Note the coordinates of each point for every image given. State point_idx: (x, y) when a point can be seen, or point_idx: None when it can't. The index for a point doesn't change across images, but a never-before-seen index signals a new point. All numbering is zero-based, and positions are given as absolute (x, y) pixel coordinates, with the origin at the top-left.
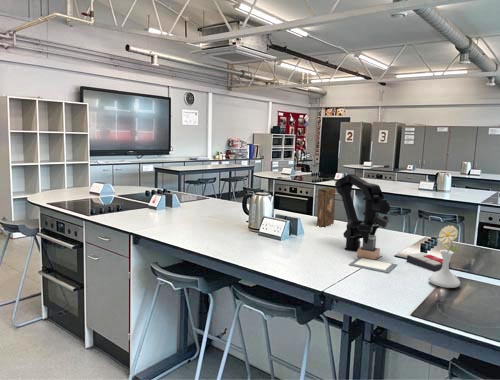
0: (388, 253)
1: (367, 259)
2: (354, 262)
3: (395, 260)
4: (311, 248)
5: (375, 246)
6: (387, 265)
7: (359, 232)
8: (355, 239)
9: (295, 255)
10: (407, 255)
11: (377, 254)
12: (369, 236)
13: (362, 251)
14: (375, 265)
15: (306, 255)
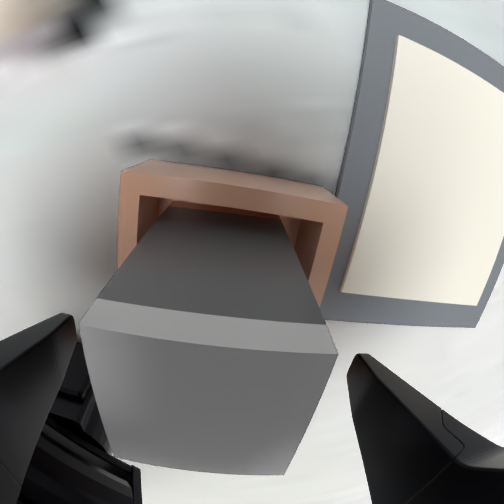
0: (26, 111)
1: (366, 245)
2: (441, 312)
3: (220, 4)
4: (230, 496)
5: (149, 231)
6: (455, 78)
7: (68, 479)
8: (89, 432)
9: (360, 492)
10: None
11: (220, 173)
12: (250, 423)
13: None
14: (484, 170)
15: (349, 481)
